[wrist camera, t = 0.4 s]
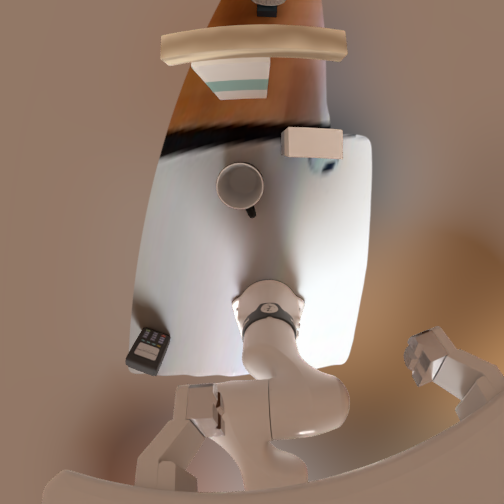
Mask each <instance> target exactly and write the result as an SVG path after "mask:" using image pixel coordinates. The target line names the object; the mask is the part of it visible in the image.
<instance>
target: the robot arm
mask: <svg viewBox="0 0 504 504" xmlns="http://www.w3.org/2000/svg"><path fill="white" fill-rule="evenodd" d="M299 307H300V308H299ZM232 308H233V311H234V315H235V318H236V321H237V324H238V328H239V331H240V334H241V337H242V340H243V353H242V361H243V365H244V367H245V369H246V370H247V371H248V372H249V373H250V374H251V375H252V376H253V377H254V378H255V379H257V380H246V381H245V380H244V381H228V382H223V383H218V384H215V383H208V384H195V385H179V386H178V387H177V389H176V395H175V404H174V414H173V420H169V421H168V423H167V424H166V425H165V426H164V428H163V429H162V430H161V431H160V432H159V434H158V435H157V436H156V437H155V438H154V440H153V441H152V442H151V443H150V444H149V445H148V447H147V448H146V449H145V450H144V451H143V452H142V454H141V455H140V456H139V457H138V460H137V468H136V477H135V486H132V485H126V484H121V483H116V482H111V481H106V480H103V479H98V478H94V477H91V476H87V475H84V474H81V473H77V472H74V471H71V470H63V471H61V472H60V473H58V474H57V475H56V476H55V477H54V478H53V479H51V480H50V481H49V482H48V483H47V484H46V486H45V488H44V491H43V497H42V504H504V376H503V375H502V373H501V372H500V370H499V369H498V367H497V366H496V365H494V364H491V363H489V362H487V361H485V360H483V359H480V358H478V357H476V356H474V355H472V354H470V353H467V352H465V351H463V350H461V349H459V350H457V349H456V347H455V346H454V344H453V343H452V342H451V340H450V339H449V338H448V336H447V335H446V334H445V333H444V331H443V330H442V329H441V327H439V326H436V327H434V328H431V329H429V330H426V331H423V332H421V333H419V334H416V335H414V336H411V337H410V338H409V340H408V344H409V346H408V347H407V348H406V349H405V352H404V361H405V364H406V366H407V368H408V369H410V370H412V371H413V373H412V376H413V379H414V380H415V382H416V384H417V386H418V387H419V386H422V385H424V384H426V383H428V382H431V381H433V380H434V381H433V382H435V383H436V384H438V385H439V386H441V387H442V388H444V389H445V390H447V391H448V392H450V393H451V394H453V395H454V396H456V397H457V398H459V399H460V400H461V402H460V403H459V404H458V405H457V407H456V409H455V411H456V413H457V415H458V417H459V419H460V421H459V422H458V423H456V424H455V425H453V426H451V427H449V428H448V429H446V430H444V431H443V432H441V433H439V434H437V435H436V436H433V437H432V438H430V439H428V440H426V441H424V442H422V443H420V444H418V445H416V446H414V447H412V448H409V449H407V450H405V451H403V452H400V453H398V454H396V455H393V456H391V457H389V458H386V459H384V460H381V461H378V462H376V463H373V464H370V465H367V466H364V467H361V468H358V469H355V470H352V471H349V472H346V473H342V474H339V475H335V476H331V477H327V478H324V479H320V480H315V481H311V482H308V469H307V466H306V464H305V463H304V462H303V461H302V460H301V459H300V458H298V457H297V456H295V455H293V454H291V453H288V452H285V451H282V450H279V449H277V448H275V447H274V446H273V445H272V444H271V443H270V442H269V441H273V440H281V439H293V438H303V437H311V436H315V435H319V434H322V433H325V432H328V431H331V430H333V429H336V428H339V427H340V426H341V425H342V423H343V422H344V421H345V419H346V417H347V415H348V412H349V406H350V399H349V394H348V391H347V389H346V387H345V386H344V384H343V383H342V382H341V381H340V380H339V379H338V378H337V377H335V376H332V375H328V374H326V373H323V372H320V371H318V370H316V369H315V368H313V367H312V366H310V365H309V364H308V363H306V362H305V361H304V360H303V359H302V357H301V356H300V354H299V352H298V348H297V345H296V339H297V338H298V334H299V332H298V330H297V328H300V323H299V321H300V318H301V315H302V312H303V309H304V301H303V300H302V299H301V298H299V297H297V296H296V295H295V294H294V293H293V291H292V290H291V289H290V288H289V287H288V286H287V285H285V284H283V283H281V282H279V281H275V280H263V281H259V282H256V283H254V284H252V285H250V286H249V287H248V288H247V289H246V290H245V291H244V293H243V294H242V295H241V296H240V297H239V298H237V299H235V300H234V301H233V302H232ZM236 308H238V309H236ZM206 437H209V438H211V439H212V440H214V441H215V442H216V443H218V444H219V445H220V446H222V447H223V448H224V449H225V450H226V451H227V452H228V453H229V454H230V455H231V457H232V458H233V459H234V461H235V462H236V464H237V465H238V467H239V469H240V471H241V474H242V478H243V483H244V488H245V491H235V492H198V487H197V478H196V477H195V476H193V475H192V474H190V473H189V472H187V471H186V469H187V467H188V466H189V464H190V462H191V461H192V459H193V458H194V456H195V455H196V453H197V451H198V450H199V448H200V447H201V445H202V443H203V442H204V440H205V438H206Z"/></svg>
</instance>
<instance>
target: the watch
mask: <svg viewBox="0 0 504 504" xmlns="http://www.w3.org/2000/svg"><path fill="white" fill-rule="evenodd" d="M252 1H253V2H254V3H256V4H257V16H260V17H276V15H277V5H280V4H282V3H284V2H285V1H286V0H252Z"/></svg>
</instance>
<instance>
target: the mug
mask: <svg viewBox="0 0 504 504" xmlns="http://www.w3.org/2000/svg"><path fill="white" fill-rule="evenodd" d="M216 190H217V194H218V196H219V198H220V199H221V201H222V202H223V203H224V204H225V205H227V206H229V207H231V208H233V209H246V211H247V213H248V215H249V217H250V218H254V217H255V216H256V212H255V208H254V205H255V204H256V203H257V202H258V201H259V200H260V198H261V196H262V194H263V191H264V180H263V177H262V175H261V173H260V172H259V170H258V169H257V168H256V167H255V166H253V165H251V164H249V163H245V162H236V163H232V164H230V165H228V166H226V167H225V168H224V169H223V170H222V171H221V172H220V174H219V176H218V178H217V182H216Z"/></svg>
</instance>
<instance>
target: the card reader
mask: <svg viewBox="0 0 504 504" xmlns="http://www.w3.org/2000/svg"><path fill="white" fill-rule="evenodd" d="M169 342H170V337H169V336H168V335H165V334H162V333H160V332H157V331H154V330H151V329H148V328H143V330H142V331H141V333H140V335H139V336H138V338H137V339H136V341H135V343H134V345H133V346H132V348H131V350H130V352H129V354H128V355H127V357H126V365H128V367H131V368H133V369H136V370H138V371H141V372H144V373H146V374H149V375H152V376H156V375H157V373H158V371H159V368H160V366H161V364H162V361H163V358H164V356H165V353H166V351H167V348H168V345H169Z"/></svg>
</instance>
